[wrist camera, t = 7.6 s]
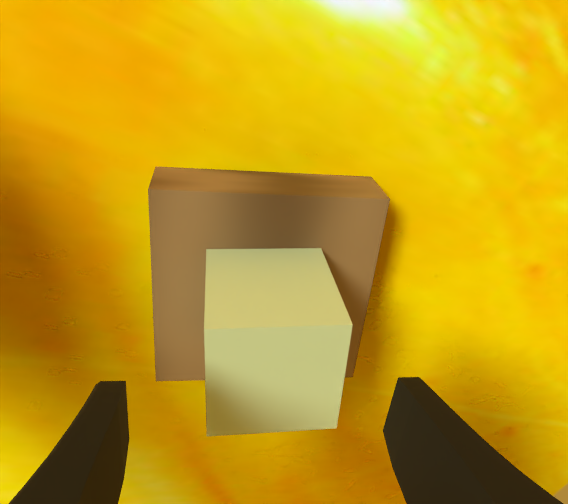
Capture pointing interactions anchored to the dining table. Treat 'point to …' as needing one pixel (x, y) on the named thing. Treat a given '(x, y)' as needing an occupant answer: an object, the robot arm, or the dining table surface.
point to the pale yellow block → (273, 341)
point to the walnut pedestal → (253, 244)
